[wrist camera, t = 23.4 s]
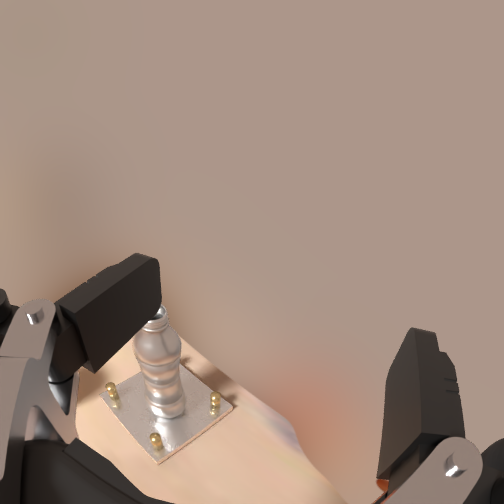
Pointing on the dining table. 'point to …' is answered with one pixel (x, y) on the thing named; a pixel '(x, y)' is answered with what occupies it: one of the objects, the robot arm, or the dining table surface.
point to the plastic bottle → (160, 366)
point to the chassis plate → (160, 429)
